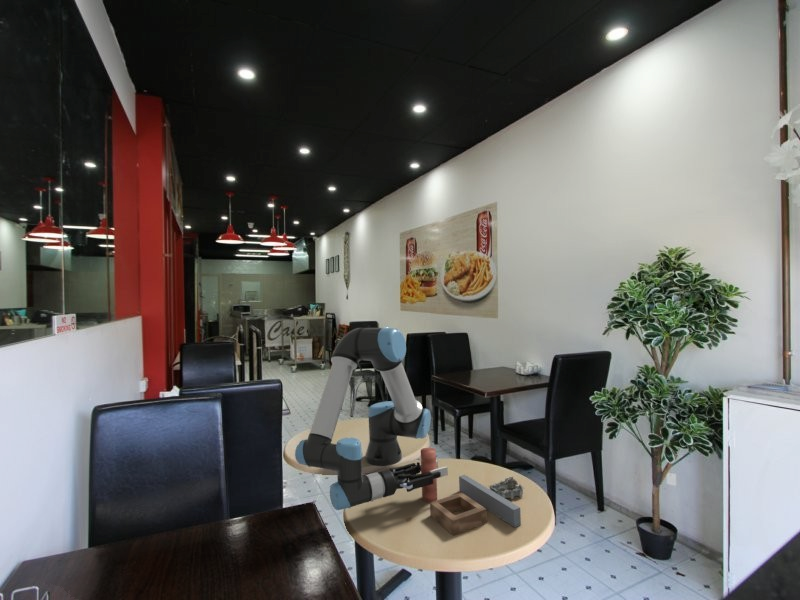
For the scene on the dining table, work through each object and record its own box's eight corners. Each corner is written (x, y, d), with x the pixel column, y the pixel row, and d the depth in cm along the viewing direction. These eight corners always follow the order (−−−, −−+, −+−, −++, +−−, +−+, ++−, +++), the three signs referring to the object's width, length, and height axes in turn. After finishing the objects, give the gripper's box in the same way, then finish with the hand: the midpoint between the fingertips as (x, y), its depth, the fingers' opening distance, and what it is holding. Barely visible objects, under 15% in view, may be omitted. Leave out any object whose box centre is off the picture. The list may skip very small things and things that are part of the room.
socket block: (430, 515, 121) (429, 502, 122) (462, 504, 127) (461, 492, 127) (453, 535, 111) (453, 520, 111) (486, 522, 117) (486, 509, 117)
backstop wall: (459, 490, 137) (459, 476, 137) (465, 489, 138) (464, 474, 138) (514, 527, 114) (513, 509, 114) (520, 524, 115) (520, 507, 115)
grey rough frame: (514, 487, 138) (513, 475, 138) (526, 497, 131) (526, 485, 131) (486, 492, 135) (486, 480, 135) (498, 502, 128) (497, 490, 128)
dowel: (419, 497, 133) (417, 449, 133) (432, 493, 135) (430, 446, 135) (427, 503, 129) (425, 454, 129) (440, 499, 131) (438, 451, 131)
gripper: (368, 485, 131) (428, 469, 142) (393, 509, 116) (458, 489, 127) (368, 462, 131) (427, 448, 143) (392, 483, 116) (457, 465, 127)
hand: (441, 467), depth 135 cm, fingers closed on dowel, 5 cm apart
